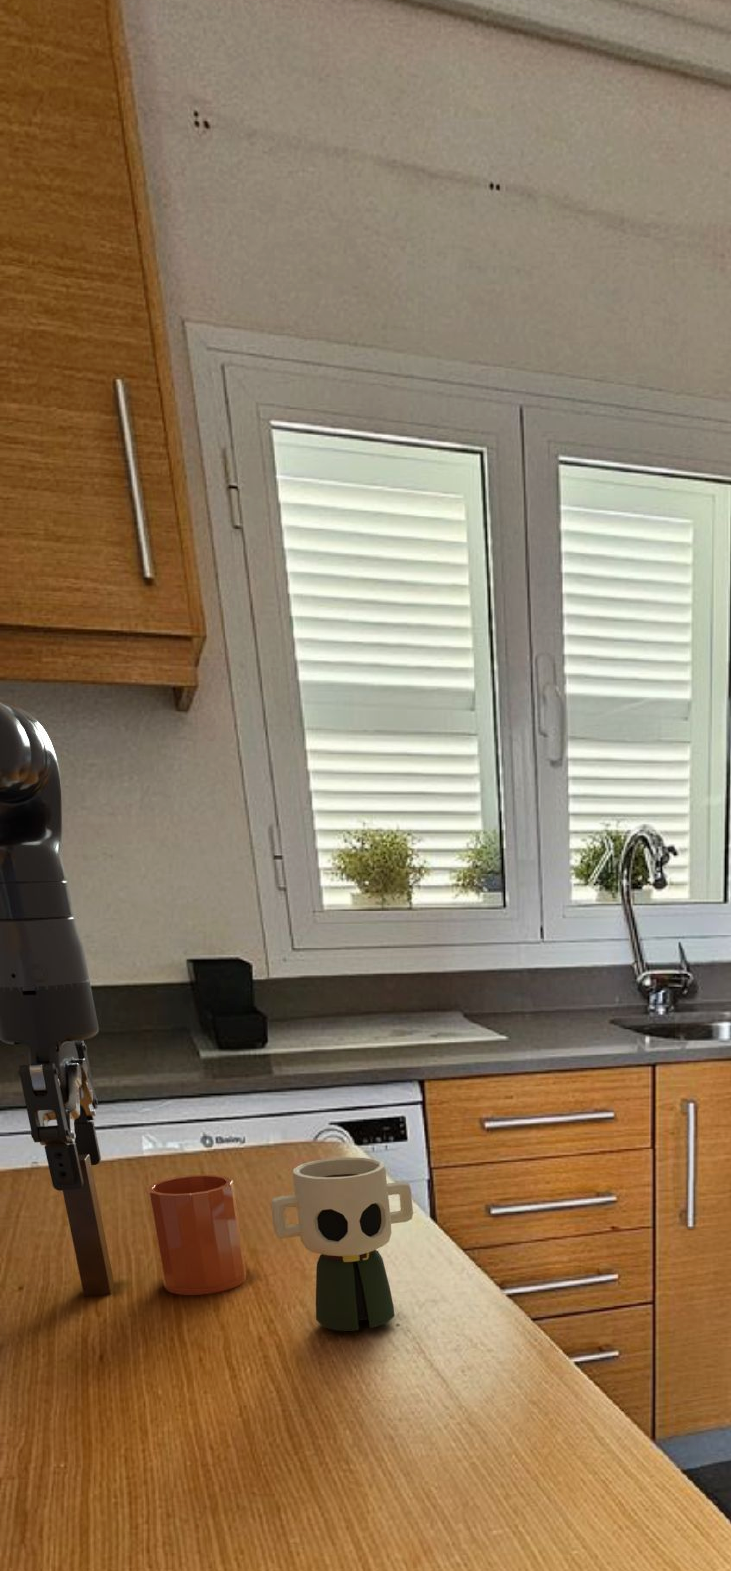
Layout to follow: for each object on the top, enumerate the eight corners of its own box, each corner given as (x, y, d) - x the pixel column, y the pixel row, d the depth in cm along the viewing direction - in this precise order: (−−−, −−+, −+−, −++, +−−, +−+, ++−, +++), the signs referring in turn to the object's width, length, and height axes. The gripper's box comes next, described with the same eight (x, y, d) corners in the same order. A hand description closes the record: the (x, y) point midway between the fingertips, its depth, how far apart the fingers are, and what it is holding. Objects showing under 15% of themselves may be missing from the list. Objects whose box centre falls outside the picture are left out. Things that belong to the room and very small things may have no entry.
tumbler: (148, 1292, 105) (130, 1193, 102) (192, 1267, 111) (177, 1172, 108) (219, 1297, 104) (203, 1196, 100) (261, 1271, 110) (247, 1176, 107)
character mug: (296, 1349, 92) (274, 1185, 87) (280, 1320, 98) (259, 1165, 93) (433, 1326, 97) (420, 1168, 92) (410, 1299, 103) (397, 1150, 98)
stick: (83, 1296, 104) (56, 1161, 100) (88, 1288, 106) (61, 1155, 102) (110, 1294, 105) (84, 1159, 100) (114, 1286, 107) (89, 1153, 102)
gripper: (8, 972, 101) (48, 1161, 107) (-38, 989, 88) (11, 1201, 94) (102, 968, 103) (137, 1154, 109) (71, 984, 90) (112, 1193, 96)
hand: (78, 1176), depth 102 cm, fingers open, 8 cm apart
